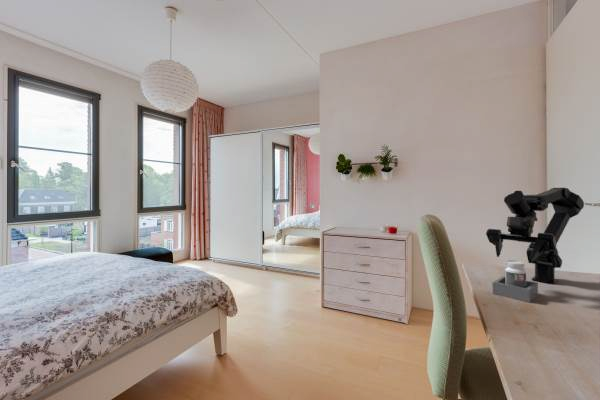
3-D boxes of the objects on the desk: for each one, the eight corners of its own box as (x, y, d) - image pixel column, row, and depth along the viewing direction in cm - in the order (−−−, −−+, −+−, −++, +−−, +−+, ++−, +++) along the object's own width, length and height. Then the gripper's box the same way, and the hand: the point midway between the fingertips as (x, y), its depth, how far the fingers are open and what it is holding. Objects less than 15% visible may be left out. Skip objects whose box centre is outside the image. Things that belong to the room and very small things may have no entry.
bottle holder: (502, 286, 102) (502, 276, 102) (537, 294, 94) (537, 282, 94) (492, 293, 96) (492, 282, 96) (529, 302, 88) (529, 289, 88)
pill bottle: (530, 294, 92) (530, 264, 91) (510, 293, 93) (510, 264, 93) (520, 288, 97) (520, 260, 97) (501, 287, 99) (501, 259, 98)
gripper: (487, 207, 104) (475, 240, 97) (554, 209, 89) (545, 248, 83) (495, 226, 109) (484, 258, 103) (559, 230, 94) (551, 269, 88)
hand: (513, 258), depth 94 cm, fingers open, 9 cm apart
